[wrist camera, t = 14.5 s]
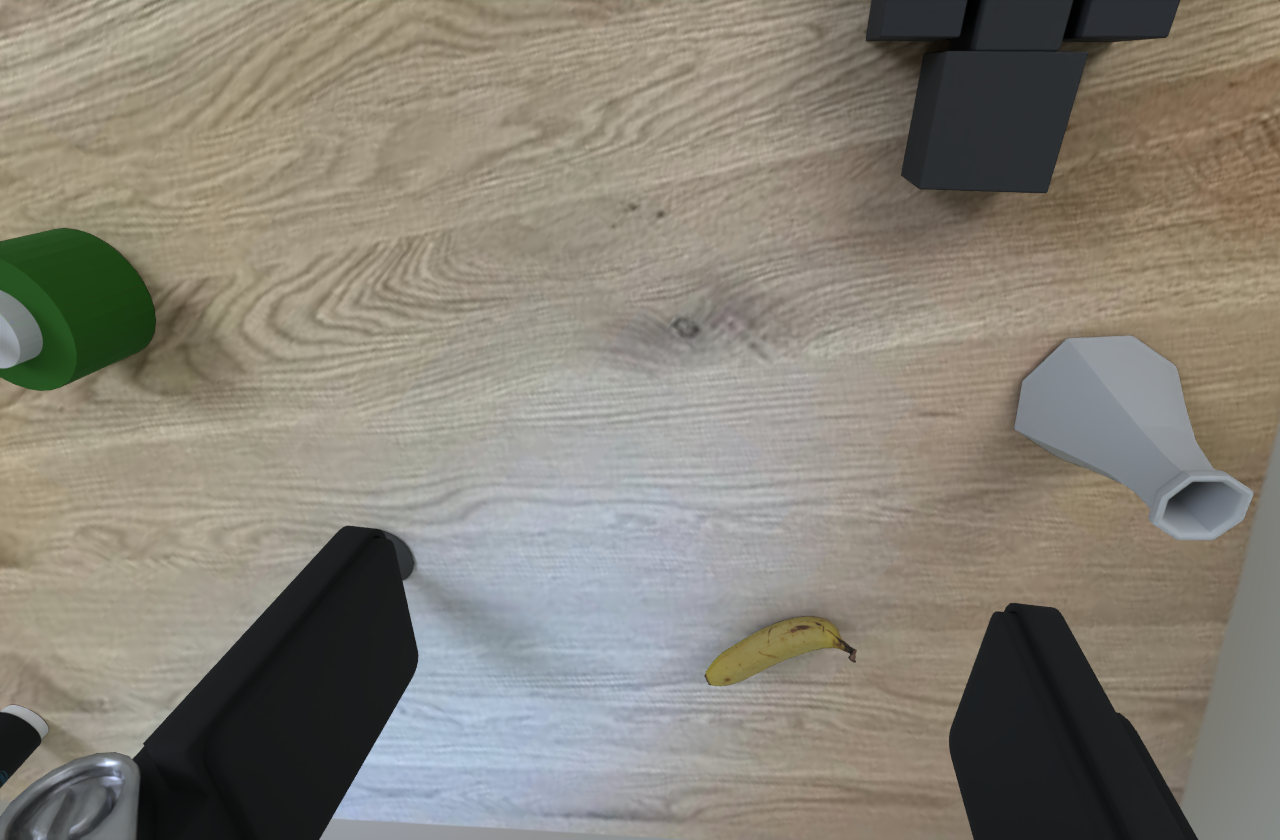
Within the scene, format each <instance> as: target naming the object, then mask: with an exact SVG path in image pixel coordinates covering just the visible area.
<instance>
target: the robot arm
mask: <svg viewBox="0 0 1280 840" xmlns="http://www.w3.org/2000/svg"><path fill="white" fill-rule="evenodd" d="M417 663H418V650H417V645H416V641H415V636H414V631H413V627H412V622H411V618H410V613H409V609H408V604H407V600H406V595H405V591H404V586H403V582H402V577H401V573H400V568H399V564H398V559H397V554H396V550H395V546H394V543H393V542H392V541H391V540H389V539H387V538H386V536H385V533H384V532H383V531H382V530H379V529H372V528H364V527H355V526H345V527H343V528H342V529H340V530H339V531H338V532H337V533H336V534H335V535H334V536H333V537H332V539H331V540H330V541H329V542H328V543H327V544H326V545H325V546H324V547H323V548H322V549H321V551H320V552H319V553H318V554H317V555H316V556H315V557H314V558H313V559H312V560H311V561H310V563H309V564H308V565H307V566H306V567H305V568H304V569H303V570H302V571H301V572H300V573H299V575H298V576H297V577H296V578H295V579H294V580H293V581H292V582H291V583H290V584H289V585H288V586H287V588H286V589H285V590H284V591H283V592H282V593H281V594H280V595H279V596H278V597H277V598H276V600H275V601H274V602H273V603H272V604H271V605H270V606H269V607H268V608H267V609H266V610H265V612H264V613H263V614H262V615H261V616H260V617H259V618H258V619H257V620H256V621H255V622H254V624H253V625H252V626H251V627H250V628H249V629H248V630H247V631H246V632H245V633H244V634H243V635H242V637H241V638H240V639H239V640H238V641H237V642H236V643H235V644H234V645H233V646H232V647H231V649H230V650H229V651H228V652H227V653H226V654H225V655H224V656H223V657H222V658H221V659H220V661H219V662H218V663H217V664H216V665H215V666H214V667H213V668H212V669H211V670H210V671H209V673H208V674H207V675H206V676H205V677H204V678H203V679H202V680H201V681H200V682H199V683H198V684H197V686H196V687H195V688H194V689H193V690H192V691H191V692H190V693H189V694H188V695H187V696H186V698H185V699H184V700H183V701H182V702H181V703H180V704H179V705H178V706H177V707H176V708H175V710H174V711H173V712H172V713H171V714H170V715H169V716H168V717H167V718H166V719H165V720H164V722H163V723H162V724H161V725H160V726H159V727H158V728H157V729H156V730H155V731H154V732H153V733H152V735H151V736H150V737H149V738H148V739H147V740H146V741H145V742H144V743H143V744H144V747H143V748H142V749H141V751H140V752H139V753H138V754H137V755H136V756H135V757H134V758H133V759H131V758H130V757H129V756H126V755H123V754H120V753H116V752H110V753H96V754H92V755H89V756H85V757H82V758H78V759H75V760H73V761H71V762H69V763H67V764H64V765H62V766H60V767H58V768H56V769H54V770H52V771H51V772H49V773H48V774H46V775H45V776H43V777H42V778H40V779H39V780H37V781H36V782H34V783H33V784H31V785H30V786H29V787H28V788H27V789H25V790H24V791H23V792H22V793H21V794H20V795H19V796H18V797H16V798H15V799H14V800H13V801H12V802H11V803H10V804H9V806H8V807H7V808H6V809H5V811H4V812H3V813H2V814H1V816H0V840H319V839H320V837H321V836H322V834H323V832H324V830H325V829H326V827H327V825H328V824H329V822H330V820H331V818H332V817H333V815H334V813H335V811H336V810H337V808H338V806H339V804H340V803H341V801H342V799H343V797H344V796H345V794H346V792H347V790H348V789H349V787H350V785H351V783H352V782H353V780H354V778H355V777H356V775H357V773H358V771H359V770H360V768H361V766H362V764H363V763H364V761H365V759H366V757H367V756H368V754H369V752H370V750H371V749H372V747H373V745H374V743H375V742H376V740H377V738H378V737H379V735H380V733H381V731H382V730H383V728H384V726H385V724H386V723H387V721H388V719H389V717H390V716H391V714H392V712H393V710H394V709H395V707H396V705H397V703H398V702H399V700H400V698H401V697H402V695H403V693H404V691H405V690H406V688H407V686H408V684H409V683H410V681H411V679H412V677H413V675H414V673H415V671H416V668H417ZM949 747H950V754H951V759H952V762H953V766H954V769H955V773H956V777H957V780H958V784H959V788H960V791H961V795H962V798H963V802H964V806H965V809H966V813H967V817H968V820H969V824H970V827H971V831H972V835H973V838H974V840H1198V838H1197V837H1196V835H1195V833H1194V832H1193V830H1192V828H1191V826H1190V825H1189V823H1188V821H1187V819H1186V817H1185V816H1184V814H1183V812H1182V810H1181V809H1180V807H1179V805H1178V803H1177V802H1176V800H1175V798H1174V796H1173V794H1172V793H1171V791H1170V789H1169V787H1168V786H1167V784H1166V782H1165V780H1164V779H1163V777H1162V775H1161V773H1160V772H1159V770H1158V768H1157V766H1156V765H1155V763H1154V761H1153V759H1152V757H1151V756H1150V754H1149V752H1148V750H1147V749H1146V747H1145V745H1144V743H1143V742H1142V740H1141V738H1140V736H1139V735H1138V733H1137V731H1136V730H1135V728H1134V727H1133V726H1132V724H1131V723H1130V721H1129V720H1128V719H1126V718H1125V717H1124V716H1123V715H1121V714H1120V713H1117V712H1115V710H1114V708H1113V706H1112V704H1111V703H1110V701H1109V699H1108V697H1107V695H1106V694H1105V692H1104V690H1103V688H1102V686H1101V684H1100V683H1099V681H1098V679H1097V677H1096V675H1095V674H1094V672H1093V670H1092V668H1091V666H1090V665H1089V663H1088V661H1087V659H1086V657H1085V655H1084V654H1083V652H1082V650H1081V648H1080V646H1079V645H1078V643H1077V641H1076V639H1075V637H1074V636H1073V634H1072V632H1071V630H1070V628H1069V627H1068V625H1067V623H1066V621H1065V619H1064V617H1063V616H1062V614H1061V613H1060V612H1059V611H1058V610H1057V609H1055V608H1052V607H1044V606H1035V605H1026V604H1018V603H1010V604H1009V605H1008V606H1007V607H1006V609H1005V611H1004V612H999V611H998V612H995V613H993V615H992V617H991V619H990V622H989V625H988V627H987V630H986V633H985V636H984V638H983V641H982V644H981V647H980V649H979V652H978V655H977V658H976V660H975V663H974V666H973V669H972V671H971V674H970V677H969V679H968V682H967V685H966V688H965V690H964V693H963V696H962V699H961V701H960V704H959V707H958V710H957V712H956V715H955V718H954V721H953V723H952V726H951V729H950V735H949Z"/></svg>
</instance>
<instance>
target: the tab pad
mask: <svg viewBox="0 0 1280 840" xmlns="http://www.w3.org/2000/svg"><path fill="white" fill-rule="evenodd" d="M1072 3H1073V0H967V5H966V9H965V14H964V19H963V24H962V29H961V33H960V36H959V37H957V38H952V39H951V44H950V49H949V51H944V52H934V53H926V54H924V56H923V62H922V67H921V72H920V77H919V83H918V88H917V93H916V99H915V104H914V109H913V115H912V120H911V125H910V130H909V136H908V141H907V146H906V152H905V157H904V162H903V168H902V173H901V176H903V177H904V178H905V179H907V180H908V181H909V182H911V183H912V184H913V185H915V186H916V187H917V188H919V189H930V190H961V191H991V192H1022V193H1047V192H1048V188H1049V185H1050V181H1051V178H1052V175H1053V171H1054V168H1055V164H1056V161H1057V158H1058V154H1059V151H1060V147H1061V144H1062V141H1063V137H1064V134H1065V130H1066V127H1067V124H1068V120H1069V117H1070V113H1071V110H1072V107H1073V103H1074V100H1075V96H1076V93H1077V90H1078V86H1079V83H1080V79H1081V76H1082V73H1083V69H1084V66H1085V63H1086V59H1087V56H1088V52H1056V51H1059V49H1060V47H1061V43H1062V40H1063V36H1064V32H1065V29H1066V25H1067V21H1068V18H1069V14H1070V11H1071V7H1072Z"/></svg>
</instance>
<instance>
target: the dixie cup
mask: <svg viewBox="0 0 1280 840" xmlns="http://www.w3.org/2000/svg"><path fill="white" fill-rule="evenodd" d="M47 733H48V726H47V724H46V723H45V722H44V720H43V719H42V718H41V717H39V716H38V715H37V714H35V713H34V712H32V711H31V710H29V709H27V708H24V707H21V706H17V705H9V706H7V707H6V708H4V709H3V710H1V711H0V788H1V787H2V786H3V785H4V784H5V782H6V781H7V780H8V779H9V778H10V777H11V776H12V775H13V774H14V773H15V771H16V770H17V769H18V768H19V767H20V766H21V765H22V764H23V763H24V762H25V760H26V759H27V758H28V757H29V756H30V755H31V754H32V753H33V752H34V750H35V749H36V748H37V747H38V746H39V745H40V744H41V740H42V739H43V737H44V736H45V735H46V734H47Z"/></svg>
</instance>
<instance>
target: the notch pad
mask: <svg viewBox="0 0 1280 840" xmlns="http://www.w3.org/2000/svg"><path fill="white" fill-rule="evenodd" d="M1179 3H1180V0H1073V3H1072V7H1071V11H1070V14H1069V18H1068V21H1067V25H1066V29H1065V32H1064V36H1063V40H1062V42H1119V41H1131V40H1143V39H1156V38H1165V37H1167V36H1168V35H1169V32H1170V29H1171V26H1172V23H1173V20H1174V17H1175V14H1176V11H1177V8H1178V5H1179ZM966 5H967V0H872V1H871V8H870V14H869V21H868V28H867V34H866V41H939V40H945V39H951V38H957V37H959V36H960V33H961V29H962V24H963V19H964V14H965V9H966Z"/></svg>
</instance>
